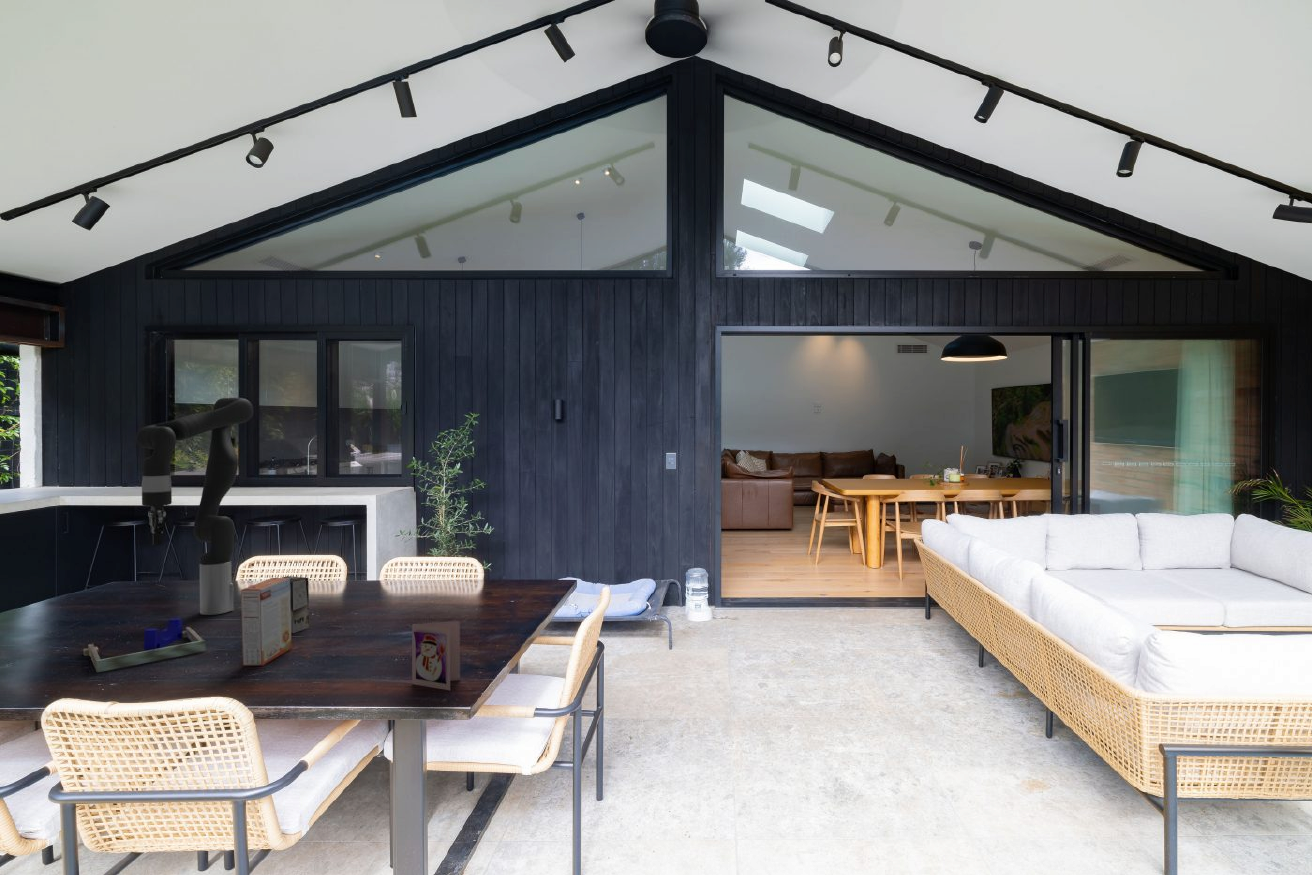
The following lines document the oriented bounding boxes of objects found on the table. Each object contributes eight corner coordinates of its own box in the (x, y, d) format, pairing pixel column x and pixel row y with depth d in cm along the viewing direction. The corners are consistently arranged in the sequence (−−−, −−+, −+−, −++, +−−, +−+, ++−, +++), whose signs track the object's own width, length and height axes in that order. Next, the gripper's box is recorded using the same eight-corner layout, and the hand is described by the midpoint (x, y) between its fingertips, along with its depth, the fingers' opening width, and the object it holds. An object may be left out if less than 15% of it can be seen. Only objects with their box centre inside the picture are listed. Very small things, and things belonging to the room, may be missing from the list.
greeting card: (409, 685, 168) (409, 625, 168) (429, 674, 175) (429, 617, 175) (447, 691, 164) (447, 630, 164) (466, 680, 171) (466, 621, 171)
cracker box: (271, 649, 195) (271, 577, 195) (292, 649, 195) (291, 577, 195) (240, 666, 181) (239, 588, 181) (262, 666, 181) (261, 588, 181)
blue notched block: (167, 638, 206) (167, 618, 206) (182, 637, 206) (182, 618, 206) (139, 651, 194) (138, 630, 194) (155, 651, 194) (154, 630, 194)
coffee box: (310, 627, 216) (309, 577, 215) (293, 633, 210) (292, 581, 209) (288, 625, 219) (287, 575, 218) (271, 630, 213) (270, 579, 212)
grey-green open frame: (192, 633, 210) (192, 623, 210) (209, 650, 194) (209, 639, 194) (83, 653, 191) (83, 642, 191) (92, 673, 176) (91, 661, 176)
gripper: (175, 490, 210) (176, 546, 210) (167, 487, 219) (168, 541, 220) (145, 492, 205) (146, 549, 205) (138, 489, 214) (139, 543, 215)
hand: (157, 544), depth 212 cm, fingers closed
